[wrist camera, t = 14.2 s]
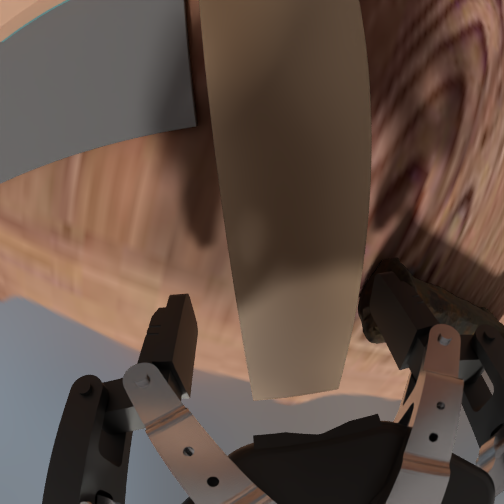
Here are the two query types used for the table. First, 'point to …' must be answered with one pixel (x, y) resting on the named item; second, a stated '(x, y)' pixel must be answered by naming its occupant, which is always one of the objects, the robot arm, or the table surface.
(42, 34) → the rubber mat
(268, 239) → the tan wooden bar
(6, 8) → the tile
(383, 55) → the table surface
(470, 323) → the hand tool
